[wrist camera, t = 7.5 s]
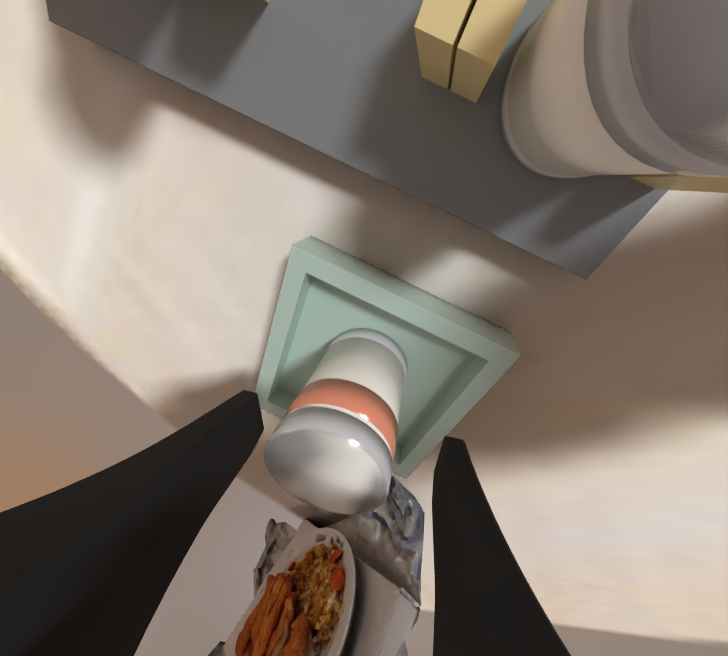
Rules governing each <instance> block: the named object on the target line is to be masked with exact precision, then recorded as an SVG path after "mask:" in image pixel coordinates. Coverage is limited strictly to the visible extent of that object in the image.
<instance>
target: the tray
mask: <svg viewBox="0 0 728 656" xmlns="http://www.w3.org/2000/svg"><path fill="white" fill-rule="evenodd" d="M353 328H370V329H374V330H377V331H380V332H382V333H384V334H386V335H388V336H389V337H391V338H392V339H393V340H394V341H395V342H396V343H397V344H398V345H399V346H400V347H401V349H402V350H403V352H404V354H405V356H406V359H407V367H408V368H407V376H406V382H405V386H404V389H403V394H402V401H401V407H400V413H399V419H398V434H397V441H396V447H395V454H394V460H393V466H392V472H394V473H396V474H398V475H400V476H402V477H404V478H406V479H407V477H408V476H409V475H410V474H411V473H412V472H413V471H414V470H415V469H416V468H417V467H418V466H419V465H420V464H421V462H422V461H423V460H424V459H425V458H426V457H427V456H428V455H429V454H430V453H431V452H432V451H433V450H434V449H435V447H436V446H437V445H438V444H439V443H440V442H441V441H442V440H443V439H444V436H447V435H448V433H449V432H450V431H451V430H452V429H453V428H454V427H455V426H456V425H457V424H458V423H459V422H460V421H461V420H462V418H463V417H464V416H465V415H466V414H467V413H468V412H469V411H470V410H471V409H472V408H473V407H474V406H475V405H476V403H477V402H478V401H479V400H480V399H481V398H482V397H483V396H484V395H485V394H486V393H487V392H488V391H489V390H490V388H491V387H492V386H493V385H494V384H495V383H496V382H497V381H498V380H499V379H500V378H501V377H502V376H503V374H504V373H505V372H506V371H507V370H508V369H509V368H510V367H511V366H512V365H513V364H514V363H515V362H516V361H517V359H518V358H519V357H520V356H521V354H520V352H519V349H518V347H517V345H516V343H515V341H514V339H513V337H512V335H511V333H510V332H508V331H506V330H504V329H502V328H500V327H498V326H496V325H494V324H492V323H490V322H488V321H486V320H484V319H482V318H479V317H477V316H475V315H473V314H471V313H469V312H467V311H465V310H463V309H461V308H459V307H457V306H455V305H453V304H450V303H448V302H446V301H444V300H442V299H440V298H438V297H436V296H434V295H432V294H430V293H428V292H426V291H424V290H421V289H419V288H417V287H415V286H413V285H411V284H409V283H407V282H405V281H403V280H401V279H399V278H397V277H395V276H392V275H390V274H388V273H386V272H384V271H382V270H380V269H378V268H376V267H374V266H372V265H370V264H368V263H366V262H363V261H361V260H359V259H357V258H355V257H353V256H351V255H349V254H347V253H345V252H343V251H341V250H339V249H337V248H335V247H332V246H330V245H328V244H326V243H324V242H322V241H320V240H318V239H316V238H314V237H312V236H310V237H308V238H306V239H303V240H301V241H299V242H297V243H295V244H292V247H291V251H290V255H289V259H288V263H287V267H286V271H285V275H284V279H283V283H282V287H281V291H280V295H279V298H278V302H277V306H276V310H275V314H274V318H273V322H272V326H271V330H270V334H269V338H268V342H267V346H266V350H265V354H264V358H263V362H262V366H261V370H260V374H259V377H258V381H257V385H256V389H255V393H258V399H259V404H260V408H261V409H263V410H266V411H268V412H270V413H272V414H274V415H276V416H278V417H280V418H283V417H284V415H285V414H286V412H287V410H288V409H289V407H290V406H291V404H292V403H293V401H294V400H295V398H296V396H297V395H298V393H299V392H300V391H301V390H302V389H303V388H304V386H305V385H306V383H307V382H308V380H309V379H310V377H311V375H312V374H313V372H314V371H315V369H316V368H317V366H318V364H319V363H320V361H321V360H322V358H323V356H324V353H325V351H326V350H327V348H328V347H329V345H330V344H331V342H332V341H333V339H334V338H335V337H336V336H337V335H339V334H340V333H342V332H344V331H346V330H349V329H353Z"/></svg>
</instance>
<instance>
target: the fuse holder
mask: <svg viewBox="0 0 728 656" xmlns="http://www.w3.org/2000/svg"><path fill="white" fill-rule="evenodd" d="M46 2H47V8H48V14H49V20H50V21H51V22H53V23H55V24H57V25H59V26H61V27H63V28H66V29H68V30H70V31H72V32H74V33H76V34H78V35H80V36H82V37H84V38H86V39H88V40H90V41H92V42H95V43H97V44H99V45H101V46H103V47H105V48H107V49H109V50H111V51H113V52H115V53H117V54H119V55H121V56H124V57H126V58H128V59H130V60H132V61H134V62H136V63H138V64H140V65H142V66H144V67H146V68H148V69H151V70H153V71H155V72H157V73H159V74H161V75H163V76H165V77H167V78H169V79H171V80H173V81H175V82H177V83H180V84H182V85H184V86H186V87H188V88H190V89H192V90H194V91H196V92H198V93H200V94H202V95H204V96H207V97H209V98H211V99H213V100H215V101H217V102H219V103H221V104H223V105H225V106H227V107H229V108H231V109H233V110H236V111H238V112H240V113H242V114H244V115H246V116H248V117H250V118H252V119H254V120H256V121H258V122H260V123H262V124H265V125H267V126H269V127H271V128H273V129H275V130H277V131H279V132H281V133H283V134H285V135H287V136H289V137H292V138H294V139H296V140H298V141H300V142H302V143H304V144H306V145H308V146H310V147H312V148H314V149H316V150H318V151H321V152H323V153H325V154H327V155H329V156H331V157H333V158H335V159H337V160H339V161H341V162H343V163H345V164H348V165H350V166H352V167H354V168H356V169H358V170H360V171H362V172H364V173H366V174H368V175H370V176H372V177H374V178H377V179H379V180H381V181H383V182H385V183H387V184H389V185H391V186H393V187H395V188H397V189H399V190H401V191H403V192H406V193H408V194H410V195H412V196H414V197H416V198H418V199H420V200H422V201H424V202H426V203H428V204H430V205H433V206H435V207H437V208H439V209H441V210H443V211H445V212H447V213H449V214H451V215H453V216H455V217H457V218H459V219H462V220H464V221H466V222H468V223H470V224H472V225H474V226H476V227H478V228H480V229H482V230H484V231H486V232H488V233H491V234H493V235H495V236H497V237H499V238H501V239H503V240H505V241H507V242H509V243H511V244H513V245H515V246H518V247H520V248H522V249H524V250H526V251H528V252H530V253H532V254H534V255H536V256H538V257H540V258H542V259H544V260H547V261H549V262H551V263H553V264H555V265H557V266H559V267H561V268H563V269H565V270H567V271H569V272H571V273H574V274H576V275H578V276H580V277H582V278H584V279H587V278H588V277H589V276H590V275H591V273H592V272H593V271H594V270H595V269H596V268H597V267H598V266H599V265H600V264H601V263H602V261H603V260H604V259H605V258H606V257H607V256H608V255H609V254H610V253H611V252H612V251H613V249H614V248H615V247H616V246H617V245H618V244H619V243H620V242H621V241H622V240H623V239H624V238H625V236H626V235H627V234H628V233H629V232H630V231H631V230H632V229H633V228H634V227H635V226H636V224H637V223H638V222H639V221H640V220H641V219H642V218H643V217H644V216H645V215H646V214H647V212H648V211H649V210H650V209H651V208H652V207H653V206H654V205H655V204H656V203H657V202H658V200H659V199H660V198H661V197H662V196H663V195H664V194H665V193H666V192H667V191H668V190H680V191H701V192H721V193H728V177H696V176H684V175H679V174H637V175H591V176H586V177H577V178H552V177H546V176H541V175H538V174H536V173H533V172H531V171H529V170H527V169H526V168H524V167H523V166H522V165H521V164H519V163H518V162H517V161H516V160H515V158H514V157H513V156H512V155H511V153H510V151H509V150H508V148H507V146H506V144H505V141H504V139H503V135H502V131H501V125H500V100H501V93H502V89H503V84H504V80H505V77H506V74H507V71H508V69H509V66H510V64H511V62H512V59H513V57H514V55H515V53H516V51H517V49H518V48H519V46H520V44H521V42H522V41H523V39H524V37H525V36H526V34H527V33H528V31H529V29H530V28H531V26H532V25H533V23H534V22H535V20H536V19H537V17H538V16H539V14H540V13H541V12H542V10H543V9H544V8H545V7H546V5H547V4H548V3H549V2H550V0H46Z"/></svg>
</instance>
